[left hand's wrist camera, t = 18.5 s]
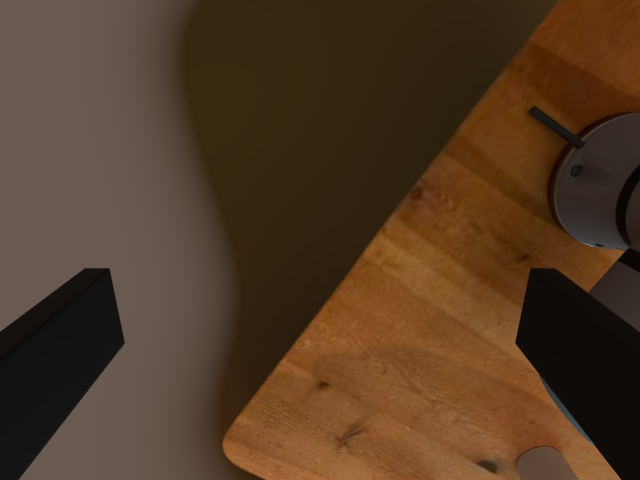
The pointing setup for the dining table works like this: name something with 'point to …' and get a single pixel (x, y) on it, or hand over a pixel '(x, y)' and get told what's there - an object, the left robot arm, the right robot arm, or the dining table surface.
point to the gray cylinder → (544, 465)
